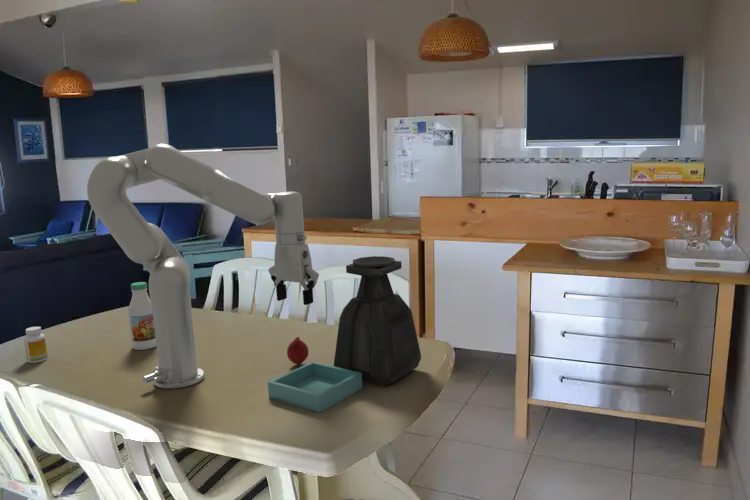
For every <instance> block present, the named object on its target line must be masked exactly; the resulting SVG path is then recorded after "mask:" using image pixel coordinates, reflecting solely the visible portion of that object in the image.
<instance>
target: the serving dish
mask: <svg viewBox="0 0 750 500" xmlns="http://www.w3.org/2000/svg"><path fill="white" fill-rule="evenodd" d="M362 389H363V381H362V373H360V372H356V371H352V370H347V369H343V368H339V367H335V366H334V365H330V364H325V363H322V362H316V361H310V362H308V363H305V364H304V365H302V366H299V367H297V368H295V369H293V370H291V371H289V372H287V373H286V372H285V373H284V374H282V375H280V376H278V377H276V378H273V379H271V380H269V381H267V390H268V398H269V399H272V400H275V401H279V402H281V401H282V403H285V404H289V405H291V406H292V405H293V406H295V407H299V408H301V409H302V408H303V409H306V410H309V411H313V412H315V413H318V412H319V413H322V412H323V411H325V410H326V409H329V408H330V407H332V406H334V405H336V404H338V403H339V402H341V401H343V400H344V399H346V398H348V397H350V396H352V395H353V394H356V393H357V392H359V391H361V390H362Z"/></svg>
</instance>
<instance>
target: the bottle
mask: <svg viewBox="0 0 750 500" xmlns="http://www.w3.org/2000/svg"><path fill="white" fill-rule="evenodd" d="M395 259H396V258H394V257H390V256H384V255H383V256H382V255H381V256H365V257H358V258H356V259H353V260H352V263H350V264H347V265H345V272H346V274H350V275H357V276H360V277H361V278H360V281H359V285H358V289H357V292H356V296H355V297H352V298H350V300H349V301H348V303H347V304H346V305H345V306H344V307H343V309H342V311H341V314H340V316H339V321H338V328H337V335H336V336H337V337H336V344H335V351H334V360H333V366H335V367H339V368H343V369H347V370H352V371H356V372H360V373H362V382H367V383H372V384H376V385H380V386H384V387H385V386H387V385H390V384H393V383H395V382H397V381H398V380H400V379H401V378H403V377H404V376H406V375H408V374H409V373H410V372H412V371H414V370H415V369H417V368H418V367H419V365H420V362H421V360H422V353H421V349H420V345H419V340H418V335H417V330H416V326H415V322H414V316H413V312H412V309H411V308H410V307H409V306H408V304H407V303H406V302H405V300H404V299H403V298H402V296H401V295H400V294H398V293H394V291H393V287H392V284H391V281H390V279H389V276H388V274H390V273H392V272H396V271H398V270H401V269H402V261H401V260H395Z"/></svg>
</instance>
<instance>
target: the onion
mask: <svg viewBox="0 0 750 500" xmlns="http://www.w3.org/2000/svg"><path fill="white" fill-rule="evenodd" d="M300 339H301V338H300V337H299V336H295V338H294V340H293V341H291V342H290V343H289V345H288V346H287V351H286V355H287V358H288V360H289V361H290V362H292V363H293V364H295V365H297V366H300V365H302V364H303V363H304V362H305V361H306V360H307V358H308V357H309V347H308V345H307V344H306V343H305V342H304V341H303V340H300Z"/></svg>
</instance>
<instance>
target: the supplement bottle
mask: <svg viewBox="0 0 750 500" xmlns="http://www.w3.org/2000/svg"><path fill="white" fill-rule="evenodd" d="M25 334H26V336H25V337H24V338H23V339H24V340H23V342H24V348H25V355H26V357H25V358H26V360H27V361H26V362H28V363H31V364H36V363H41V362H44V361H47V359H48V358H49V357H48V348H47V343H46V337H45V334H44V333H42V327H41V326H30V327H27V328H26V329H25Z"/></svg>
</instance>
